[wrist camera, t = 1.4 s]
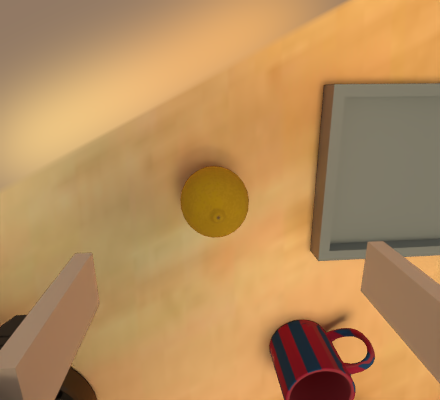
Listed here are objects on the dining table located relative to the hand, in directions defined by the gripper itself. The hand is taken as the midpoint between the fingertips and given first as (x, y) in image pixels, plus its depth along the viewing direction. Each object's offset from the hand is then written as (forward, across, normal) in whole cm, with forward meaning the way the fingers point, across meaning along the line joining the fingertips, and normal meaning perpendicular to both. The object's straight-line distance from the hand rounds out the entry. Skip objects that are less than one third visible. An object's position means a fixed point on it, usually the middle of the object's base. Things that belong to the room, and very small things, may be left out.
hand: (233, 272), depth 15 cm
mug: (+16, -11, +18) cm, 26 cm away
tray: (+16, -20, -1) cm, 25 cm away
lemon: (+16, 0, 0) cm, 16 cm away
